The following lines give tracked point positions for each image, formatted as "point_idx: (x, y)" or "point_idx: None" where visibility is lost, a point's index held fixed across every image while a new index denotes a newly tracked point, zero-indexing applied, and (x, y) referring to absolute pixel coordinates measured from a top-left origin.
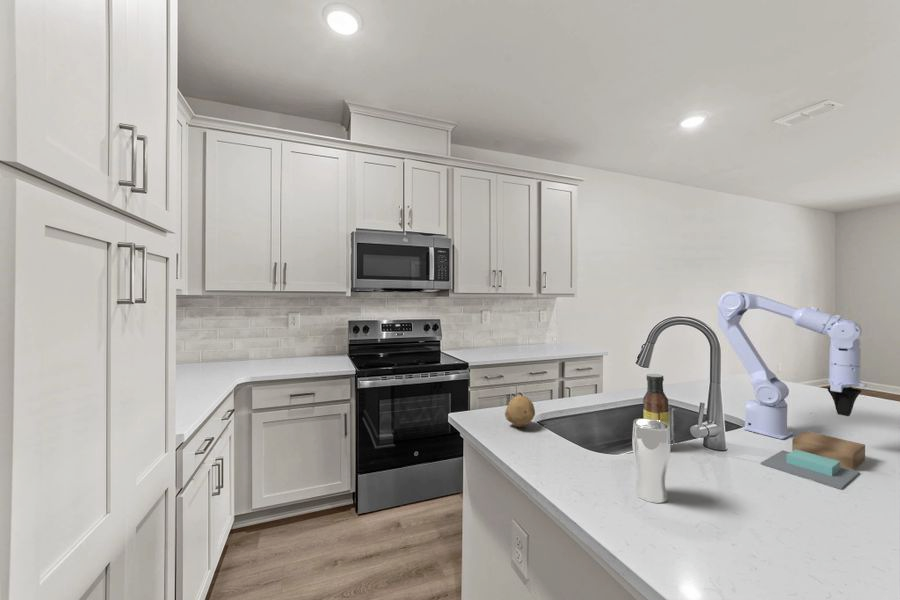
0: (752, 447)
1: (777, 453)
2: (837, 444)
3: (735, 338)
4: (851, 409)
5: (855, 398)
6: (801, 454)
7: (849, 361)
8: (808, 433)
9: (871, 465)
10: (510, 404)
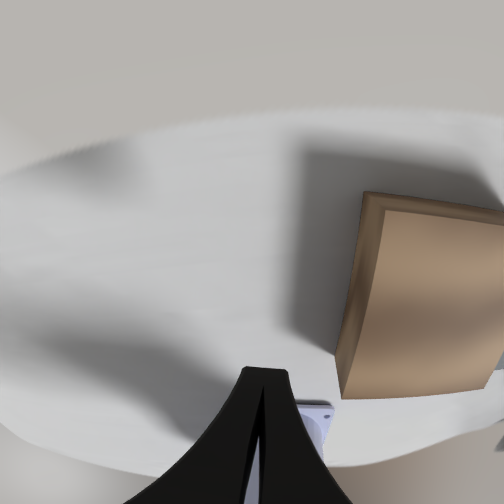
0: (464, 410)
1: (495, 369)
2: (472, 292)
3: None
4: (258, 403)
5: (211, 491)
6: None
7: None
8: (380, 388)
9: (410, 168)
10: None
